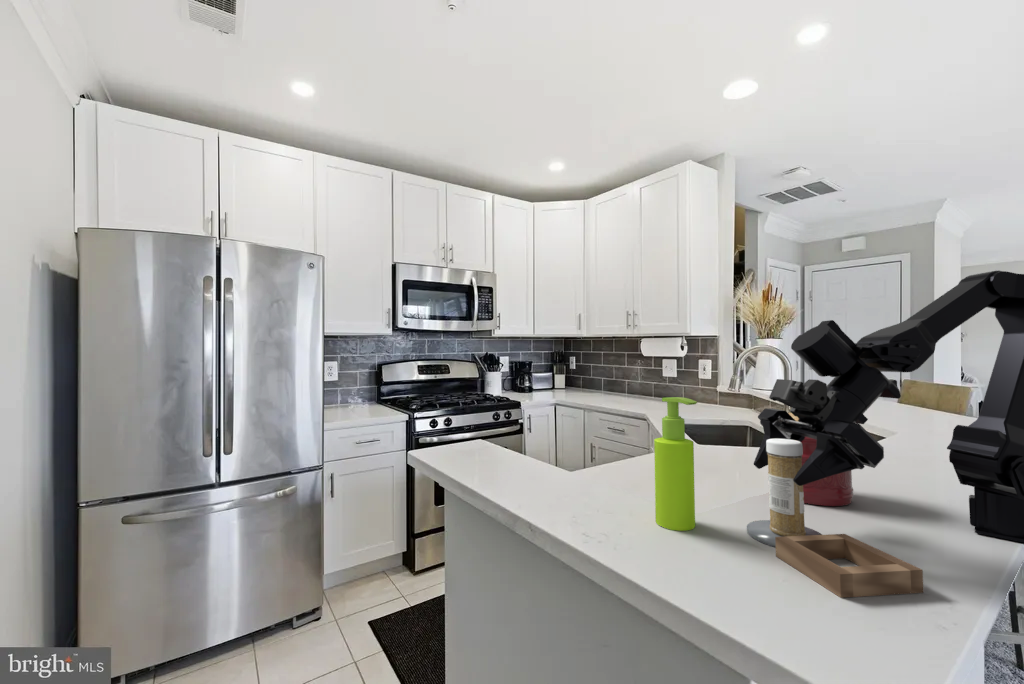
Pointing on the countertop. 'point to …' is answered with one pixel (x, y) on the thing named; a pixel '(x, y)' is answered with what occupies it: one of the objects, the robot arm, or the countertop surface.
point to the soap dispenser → (674, 471)
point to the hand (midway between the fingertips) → (774, 474)
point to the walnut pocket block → (866, 579)
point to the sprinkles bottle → (785, 487)
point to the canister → (825, 482)
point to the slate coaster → (768, 532)
